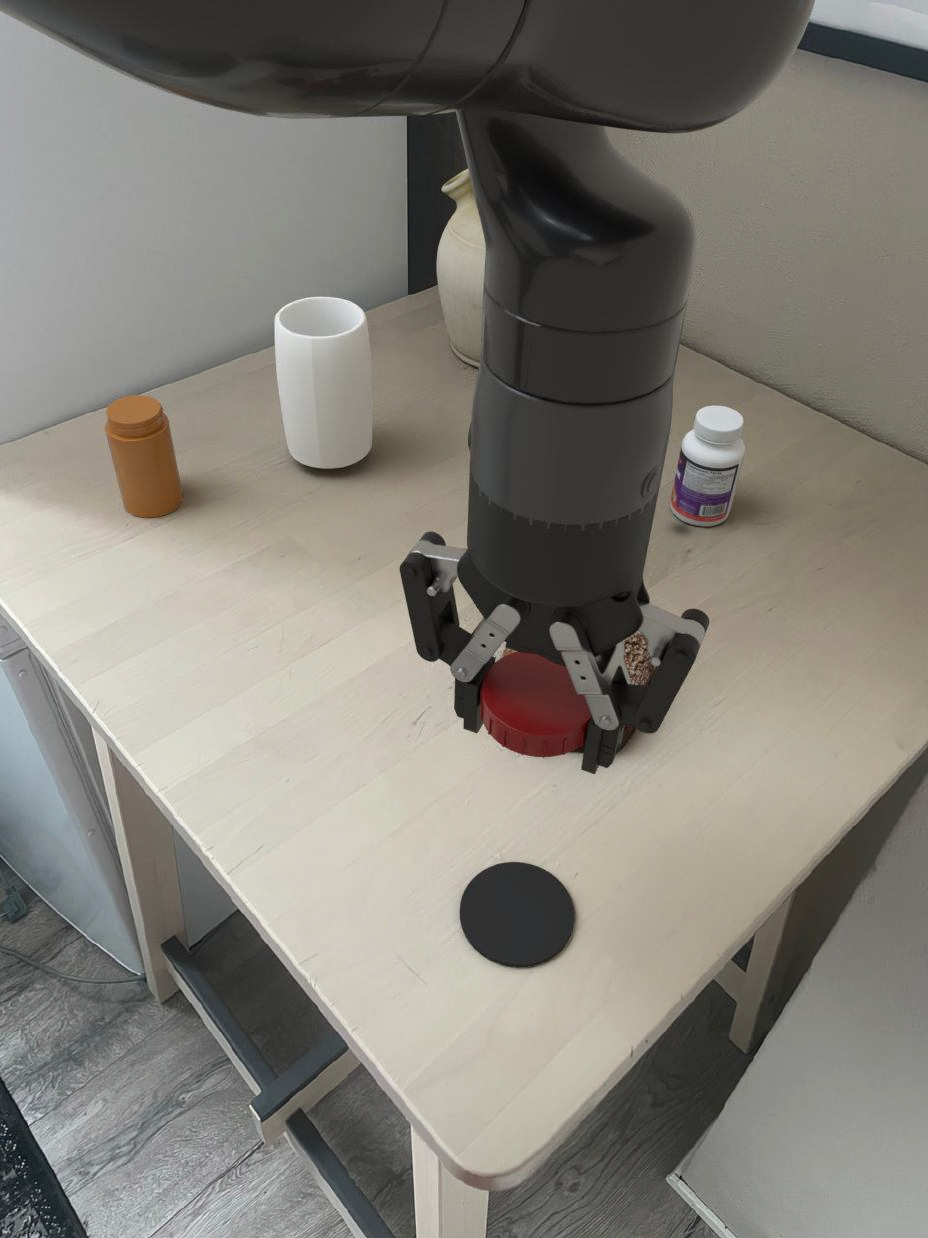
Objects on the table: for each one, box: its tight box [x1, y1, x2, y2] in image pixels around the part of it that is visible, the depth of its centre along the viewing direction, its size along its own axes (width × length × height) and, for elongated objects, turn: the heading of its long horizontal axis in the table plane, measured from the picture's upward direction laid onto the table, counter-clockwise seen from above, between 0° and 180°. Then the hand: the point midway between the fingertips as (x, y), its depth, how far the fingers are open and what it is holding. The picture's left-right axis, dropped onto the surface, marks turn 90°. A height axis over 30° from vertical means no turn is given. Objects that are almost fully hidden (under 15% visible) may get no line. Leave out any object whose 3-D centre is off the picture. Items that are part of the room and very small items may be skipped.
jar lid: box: [480, 651, 592, 759], centre depth 50 cm, size 6×6×2 cm
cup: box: [274, 296, 373, 469], centre depth 93 cm, size 8×8×14 cm
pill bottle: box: [669, 405, 746, 528], centre depth 90 cm, size 5×5×10 cm
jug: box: [436, 168, 486, 369], centre depth 105 cm, size 15×16×25 cm
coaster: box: [459, 861, 576, 969], centre depth 62 cm, size 7×7×1 cm
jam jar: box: [104, 394, 184, 519], centre depth 88 cm, size 5×5×9 cm
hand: (534, 738), depth 52 cm, fingers closed on jar lid, 5 cm apart
